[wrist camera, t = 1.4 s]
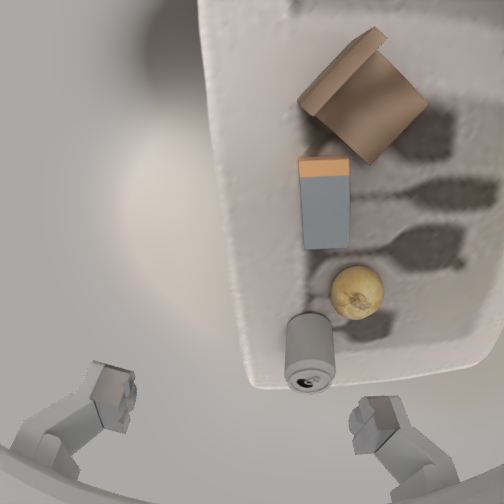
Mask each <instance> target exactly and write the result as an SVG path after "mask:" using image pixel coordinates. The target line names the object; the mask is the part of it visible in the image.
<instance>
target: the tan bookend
mask: <svg viewBox="0 0 504 504" xmlns="http://www.w3.org/2000/svg"><path fill="white" fill-rule="evenodd" d="M386 39H387V37H386V36H385V35H384V34H383V33H382V32H381V31H379V30H378V29H377V28H376V27H373V28H371V29H370V30H368V31H367V32H365V33H363V34H362V35H360V36H359V37H357V38H355V39H354V40H353V41H352V42H351V43H350V44H349V45H348V46H347V47H346V48H345V49H344V50H343V51H342V52H341V53H340V54H339V55H338V56H337V57H336V58H335V59H334V60H333V61H332V62H331V63H330V65H329V66H328V67H327V68H326V69H325V70H324V71H323V72H322V73H321V74H320V75H319V76H318V77H317V78H316V80H315V81H314V82H313V83H312V84H311V85H310V86H309V87H308V88H307V89H306V91H305V92H304V93H303V94H302V95H301V96H300V97H299V98H298V99H297V100H298V103H299V106H300V107H302V108H303V109H304V110H305V111H307V112H308V113H309V114H310V115H311V116H314V115H315V116H316V117H317V118H318V119H319V120H321V121H322V122H323V123H324V124H325V125H326V126H327V127H329V128H330V129H331V130H332V131H333V132H334V133H335V134H336V135H338V136H339V137H340V138H341V139H342V140H343V141H344V142H345V143H346V144H347V145H348V146H349V147H351V148H352V149H353V150H354V151H355V152H356V153H357V154H358V155H359V156H360V157H361V158H362V159H363V160H364V161H365V162H366V163H367V164H368V165H369V166H370V165H371V164H372V162H373V161H374V160H375V159H376V158H377V157H378V156H379V155H380V154H381V153H382V152H383V151H384V150H385V149H386V148H387V147H388V146H389V145H390V144H391V143H392V142H393V141H394V140H395V139H396V138H397V137H398V136H399V135H400V134H401V133H402V132H403V131H404V130H405V129H406V128H407V126H408V125H409V124H410V123H411V122H412V121H413V120H414V119H415V118H416V117H417V116H418V115H419V114H420V113H421V112H422V111H423V110H424V109H425V108H426V107H427V106H428V103H427V102H426V100H425V99H424V98H423V97H422V96H421V95H420V94H419V92H418V91H417V90H416V89H415V88H414V87H413V86H412V85H411V84H410V83H409V81H408V80H407V79H406V78H405V77H404V76H403V75H402V74H401V73H400V72H399V71H398V70H397V69H396V68H395V67H394V66H393V65H392V64H391V63H390V62H389V61H388V60H387V59H386V58H385V57H384V56H383V55H382V54H381V53H380V52H378V51H377V50H376V49H377V48H378V47H379V46H380V45H381V44H382V43H383V42H384V41H385V40H386Z"/></svg>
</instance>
